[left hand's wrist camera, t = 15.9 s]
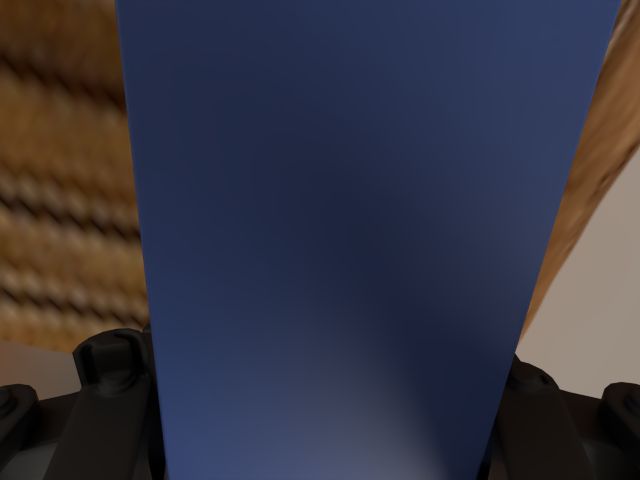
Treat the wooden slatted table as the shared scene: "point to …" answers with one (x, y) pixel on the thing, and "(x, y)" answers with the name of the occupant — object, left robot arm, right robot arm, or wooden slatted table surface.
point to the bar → (347, 220)
